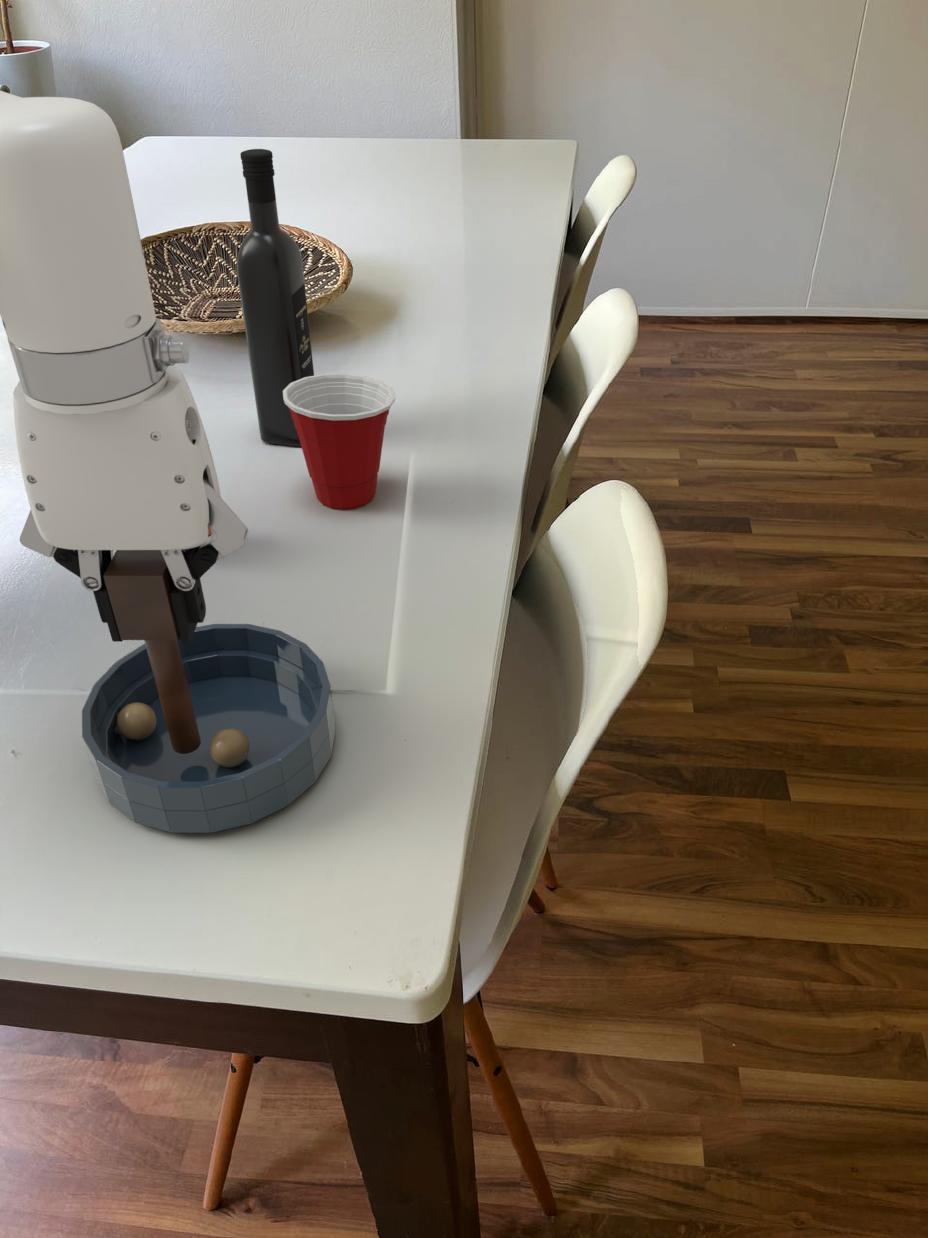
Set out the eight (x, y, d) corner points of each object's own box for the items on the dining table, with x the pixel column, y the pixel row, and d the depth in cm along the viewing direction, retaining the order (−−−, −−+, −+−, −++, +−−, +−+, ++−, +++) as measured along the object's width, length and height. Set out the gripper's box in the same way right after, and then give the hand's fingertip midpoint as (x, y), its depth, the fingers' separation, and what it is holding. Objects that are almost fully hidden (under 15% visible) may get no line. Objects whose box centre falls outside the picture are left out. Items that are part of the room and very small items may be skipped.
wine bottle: (322, 426, 115) (294, 146, 96) (306, 449, 110) (273, 160, 92) (276, 421, 116) (239, 143, 97) (258, 444, 111) (216, 157, 93)
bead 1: (145, 714, 71) (167, 734, 73) (138, 688, 73) (160, 708, 75) (112, 735, 71) (135, 754, 73) (105, 708, 73) (128, 727, 75)
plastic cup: (422, 498, 102) (418, 389, 94) (340, 538, 96) (329, 426, 88) (355, 462, 108) (347, 357, 101) (274, 498, 102) (259, 389, 95)
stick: (155, 762, 69) (102, 575, 59) (167, 726, 72) (119, 543, 62) (206, 762, 69) (162, 575, 59) (217, 726, 72) (176, 542, 62)
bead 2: (209, 775, 70) (202, 747, 69) (217, 747, 73) (211, 720, 71) (248, 775, 70) (242, 748, 69) (255, 747, 72) (250, 720, 71)
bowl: (65, 838, 67) (46, 787, 64) (135, 671, 80) (121, 623, 77) (319, 839, 66) (312, 788, 63) (346, 672, 80) (341, 623, 77)
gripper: (257, 332, 56) (293, 594, 67) (-35, 333, 56) (50, 594, 67) (232, 389, 50) (276, 666, 61) (-95, 389, 50) (9, 666, 61)
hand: (157, 626), depth 64 cm, fingers closed on stick, 3 cm apart
